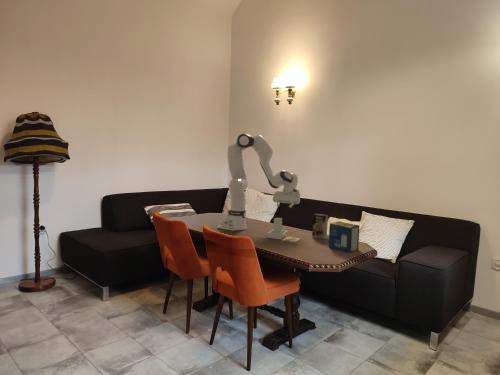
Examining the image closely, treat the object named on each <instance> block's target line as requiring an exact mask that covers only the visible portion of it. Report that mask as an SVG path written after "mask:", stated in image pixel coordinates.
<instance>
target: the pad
mask: <svg viewBox="0 0 500 375" xmlns="http://www.w3.org/2000/svg"><path fill="white" fill-rule="evenodd" d="M300 240H301V238H299V237H292V236H287V237H285V238H284V239H281V241H282V242H286V243H295V244H297V243H298V242H300Z"/></svg>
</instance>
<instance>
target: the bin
mask: <svg viewBox="0 0 500 375" xmlns="http://www.w3.org/2000/svg"><path fill="white" fill-rule="evenodd" d="M273 231H274V228H273V229H271V230H270V231H268V232H266V238H269V239H277V240H282V239H284V238H285V237H289V236H288V232H289V231H288V230H282V234H278V233H273Z"/></svg>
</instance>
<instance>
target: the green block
mask: <svg viewBox="0 0 500 375" xmlns="http://www.w3.org/2000/svg"><path fill="white" fill-rule="evenodd" d="M282 227H283V218H282V217H275V218H273V229H274V231H273V233H278V234H282V229H283V228H282Z"/></svg>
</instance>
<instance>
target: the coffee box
mask: <svg viewBox="0 0 500 375" xmlns="http://www.w3.org/2000/svg"><path fill="white" fill-rule="evenodd" d="M312 215H313V216H312V217H313V218H312V234H311V235H312V236H311V238H316V239H326V238H328V237H327V236H328V220H329V215H328V214H324V213H314V214H312Z"/></svg>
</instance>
